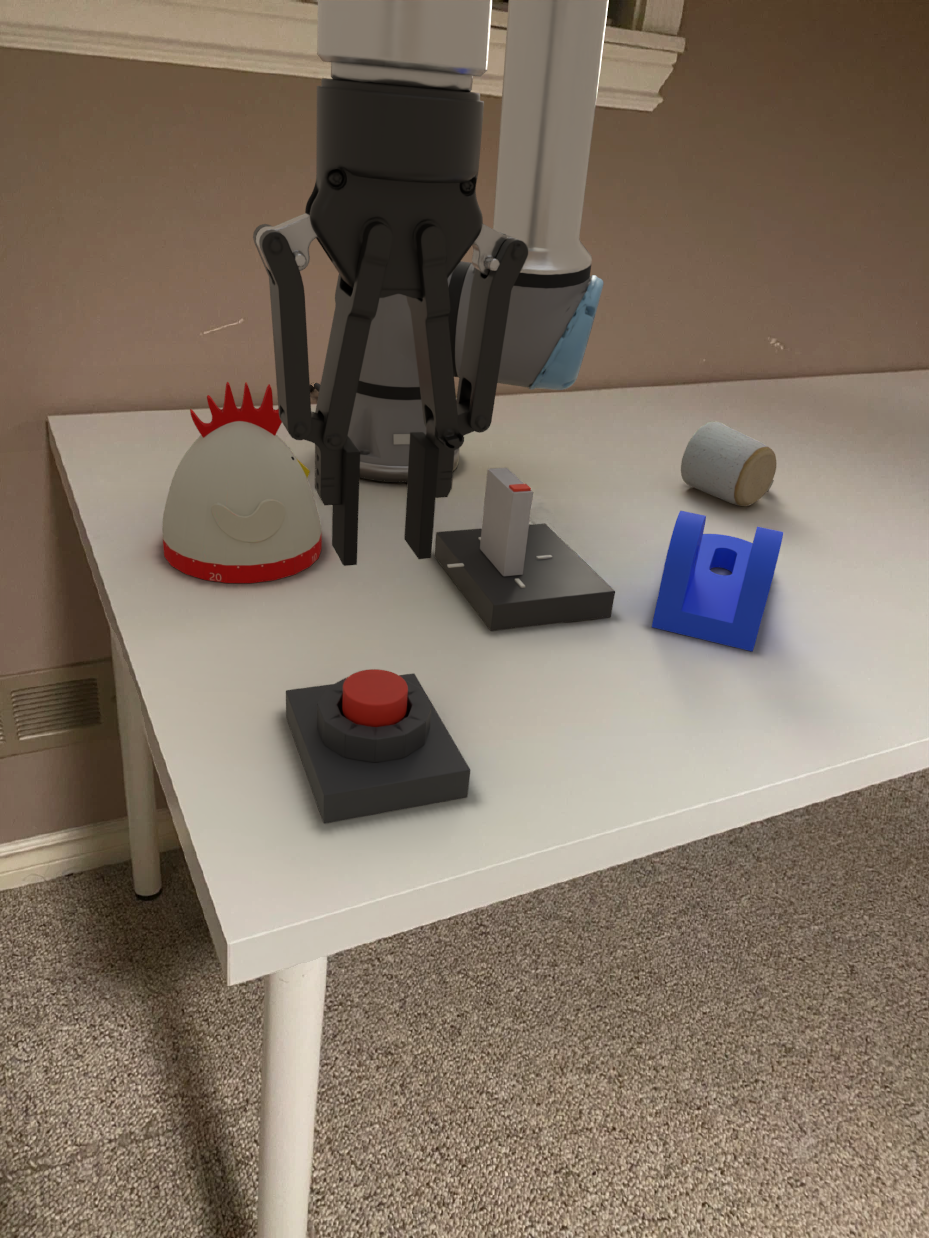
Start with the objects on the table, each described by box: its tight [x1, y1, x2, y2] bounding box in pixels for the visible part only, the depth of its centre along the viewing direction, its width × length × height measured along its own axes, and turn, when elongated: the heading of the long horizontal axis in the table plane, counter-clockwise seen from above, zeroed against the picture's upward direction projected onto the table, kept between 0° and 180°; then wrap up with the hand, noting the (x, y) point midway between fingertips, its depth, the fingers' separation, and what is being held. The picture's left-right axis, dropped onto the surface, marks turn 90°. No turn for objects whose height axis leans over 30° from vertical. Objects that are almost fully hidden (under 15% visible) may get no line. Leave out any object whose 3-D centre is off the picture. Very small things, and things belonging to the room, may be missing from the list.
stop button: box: [342, 668, 408, 727], centre depth 59 cm, size 4×4×2 cm
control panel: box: [433, 523, 616, 632], centre depth 83 cm, size 14×12×3 cm
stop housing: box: [285, 672, 471, 824], centre depth 60 cm, size 11×9×4 cm
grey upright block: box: [480, 467, 534, 576], centre depth 80 cm, size 6×2×8 cm, turn 21°
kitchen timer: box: [161, 381, 323, 584], centre depth 82 cm, size 14×14×15 cm
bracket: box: [651, 510, 784, 652], centre depth 83 cm, size 18×8×9 cm, turn 160°
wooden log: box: [680, 420, 777, 507], centre depth 106 cm, size 11×8×8 cm
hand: (381, 550), depth 54 cm, fingers open, 4 cm apart
